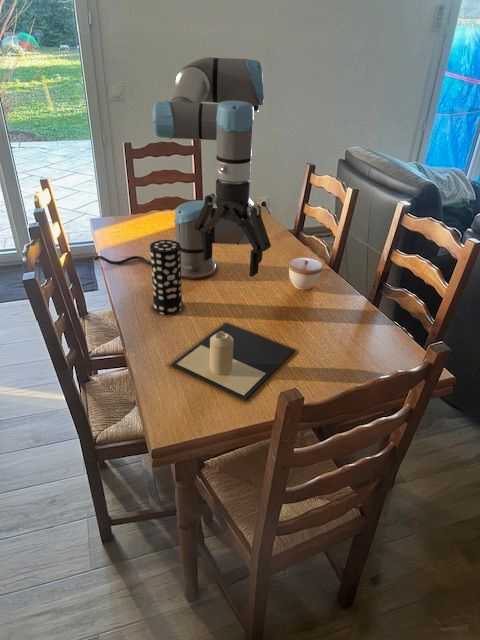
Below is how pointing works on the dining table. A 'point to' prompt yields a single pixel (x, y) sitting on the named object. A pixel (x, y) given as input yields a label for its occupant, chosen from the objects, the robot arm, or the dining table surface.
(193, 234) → the robot arm
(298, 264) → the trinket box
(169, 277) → the spotted tube
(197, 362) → the table mat
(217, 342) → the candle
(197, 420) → the dining table surface
